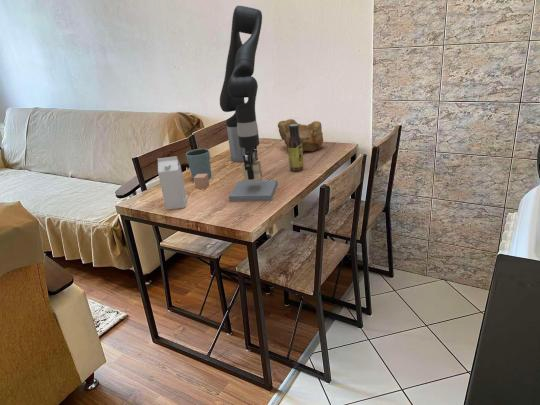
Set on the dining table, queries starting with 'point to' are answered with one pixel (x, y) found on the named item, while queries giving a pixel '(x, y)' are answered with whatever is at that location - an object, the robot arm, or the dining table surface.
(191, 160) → the teal cup
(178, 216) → the dining table surface
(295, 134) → the sauce bottle
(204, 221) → the dining table surface
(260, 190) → the base board
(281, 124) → the rough brown rock
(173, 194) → the milk carton
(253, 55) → the robot arm
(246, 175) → the beech cube
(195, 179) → the terracotta block
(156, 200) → the dining table surface
